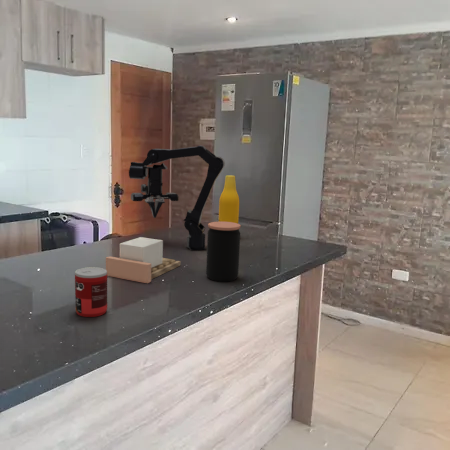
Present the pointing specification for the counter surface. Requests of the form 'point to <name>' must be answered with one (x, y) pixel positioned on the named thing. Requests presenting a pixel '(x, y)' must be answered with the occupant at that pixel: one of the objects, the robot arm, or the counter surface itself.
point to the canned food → (91, 291)
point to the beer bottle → (229, 201)
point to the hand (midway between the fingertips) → (154, 217)
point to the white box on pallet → (143, 250)
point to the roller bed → (164, 267)
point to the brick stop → (128, 269)
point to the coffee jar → (223, 251)
